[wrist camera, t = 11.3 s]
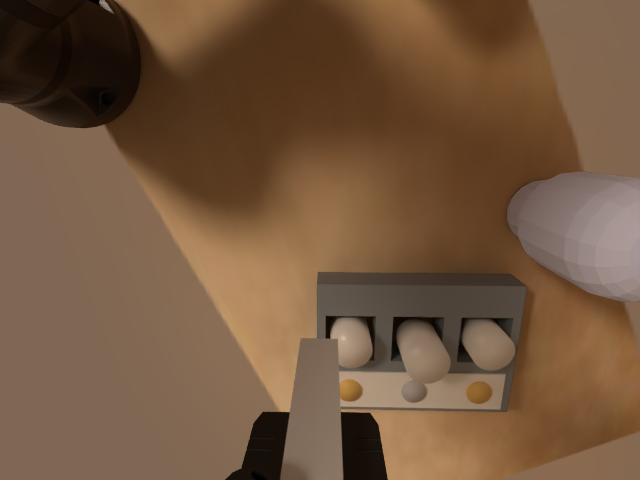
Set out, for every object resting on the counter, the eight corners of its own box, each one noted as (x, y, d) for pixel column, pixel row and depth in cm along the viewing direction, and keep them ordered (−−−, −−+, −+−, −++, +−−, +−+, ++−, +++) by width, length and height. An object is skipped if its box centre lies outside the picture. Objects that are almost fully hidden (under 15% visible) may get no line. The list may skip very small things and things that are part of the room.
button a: (330, 340, 48) (330, 368, 42) (330, 307, 47) (330, 330, 41) (366, 341, 48) (371, 368, 42) (367, 307, 47) (373, 331, 41)
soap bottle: (569, 255, 45) (828, 379, 22) (485, 249, 45) (653, 365, 22) (591, 170, 42) (915, 206, 19) (502, 163, 42) (714, 191, 19)
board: (318, 387, 51) (317, 411, 46) (318, 272, 46) (316, 285, 42) (493, 391, 50) (508, 414, 46) (510, 274, 46) (529, 288, 41)
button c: (452, 342, 48) (469, 370, 42) (456, 308, 47) (474, 332, 41) (489, 343, 48) (512, 371, 42) (494, 309, 46) (517, 333, 41)
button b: (394, 352, 46) (403, 383, 40) (396, 317, 44) (406, 343, 38) (433, 353, 45) (448, 384, 40) (436, 317, 44) (452, 344, 38)
